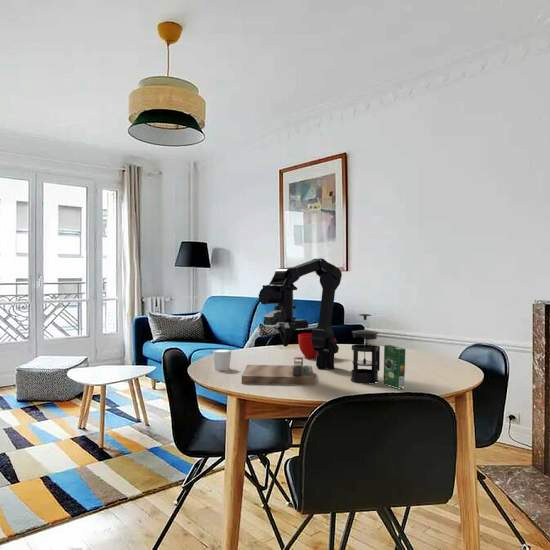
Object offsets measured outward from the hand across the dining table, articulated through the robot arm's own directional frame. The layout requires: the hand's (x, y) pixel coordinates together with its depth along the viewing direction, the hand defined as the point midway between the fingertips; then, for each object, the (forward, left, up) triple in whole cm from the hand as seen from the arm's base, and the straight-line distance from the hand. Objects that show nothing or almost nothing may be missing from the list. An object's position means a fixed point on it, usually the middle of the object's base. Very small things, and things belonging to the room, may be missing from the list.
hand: (285, 346), depth 169 cm
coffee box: (-36, +14, -11) cm, 40 cm away
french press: (-28, +6, -11) cm, 30 cm away
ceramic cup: (-14, -40, -11) cm, 43 cm away
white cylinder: (+24, -10, -11) cm, 28 cm away
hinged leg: (-4, +5, -8) cm, 10 cm away
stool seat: (+2, +4, -10) cm, 12 cm away
